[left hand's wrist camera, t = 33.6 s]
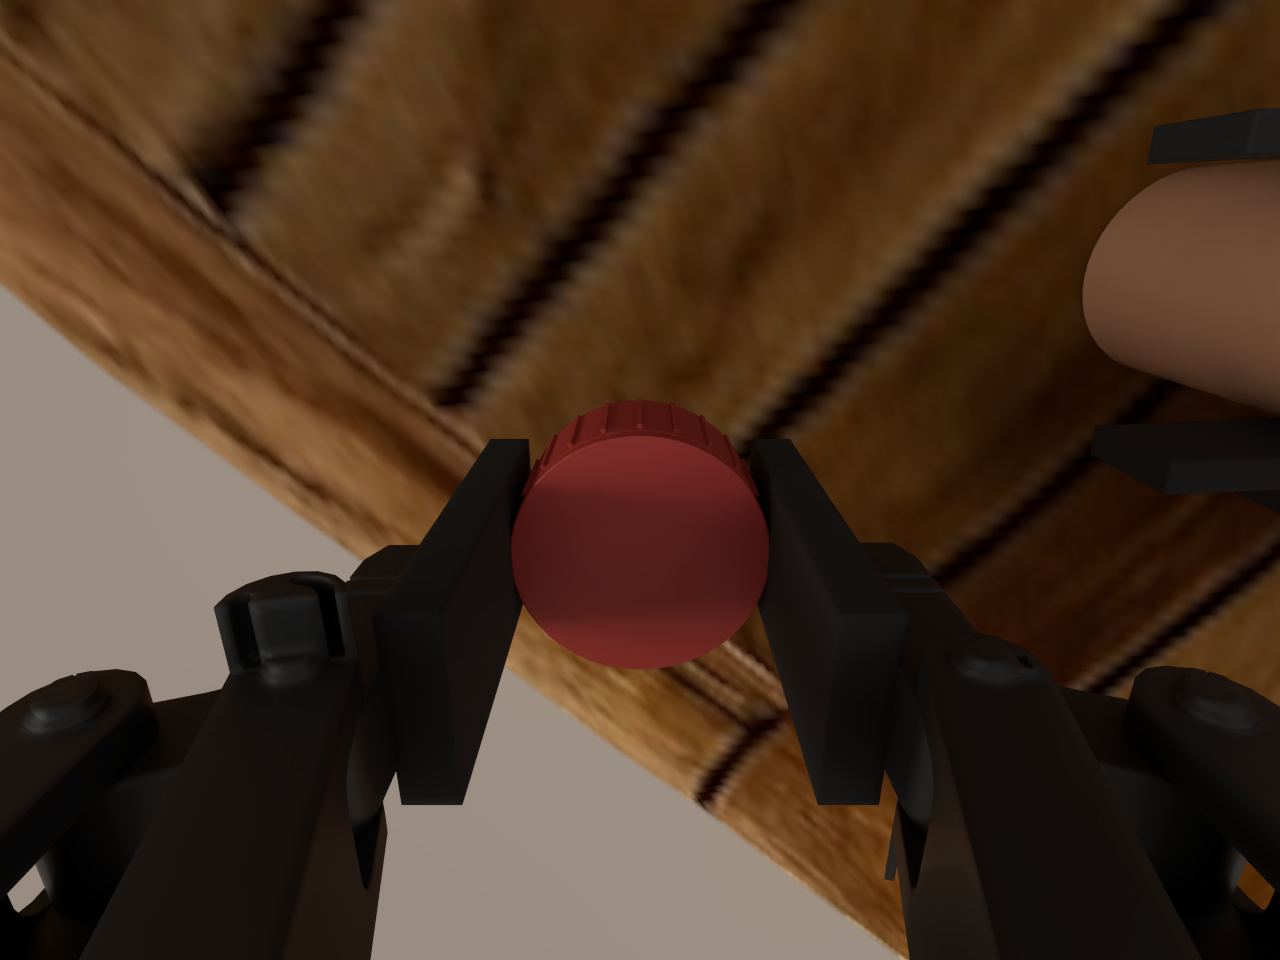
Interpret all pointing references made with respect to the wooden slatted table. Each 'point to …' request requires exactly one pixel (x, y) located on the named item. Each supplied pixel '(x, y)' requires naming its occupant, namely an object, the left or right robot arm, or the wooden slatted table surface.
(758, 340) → the wooden slatted table surface
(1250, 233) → the bottle
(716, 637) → the cap
